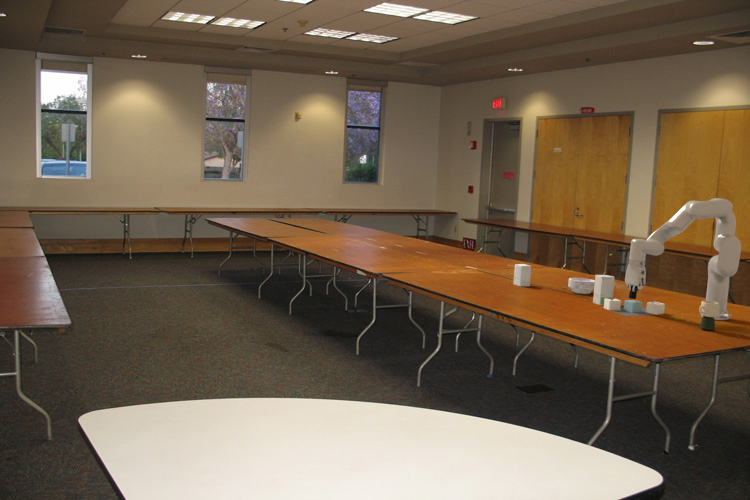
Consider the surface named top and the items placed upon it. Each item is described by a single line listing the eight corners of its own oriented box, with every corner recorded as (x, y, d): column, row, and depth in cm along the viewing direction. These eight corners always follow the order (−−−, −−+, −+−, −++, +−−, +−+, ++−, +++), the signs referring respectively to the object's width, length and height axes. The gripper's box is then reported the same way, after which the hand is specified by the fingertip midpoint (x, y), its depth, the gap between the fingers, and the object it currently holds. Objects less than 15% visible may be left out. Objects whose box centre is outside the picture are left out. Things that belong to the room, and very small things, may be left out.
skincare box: (599, 305, 349) (601, 276, 347) (592, 303, 355) (594, 274, 353) (612, 305, 351) (615, 276, 349) (605, 302, 357) (607, 274, 355)
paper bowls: (591, 291, 391) (592, 277, 390) (597, 296, 376) (598, 282, 375) (565, 289, 393) (566, 276, 392) (570, 294, 378) (571, 280, 377)
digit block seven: (620, 310, 337) (621, 300, 336) (609, 310, 336) (609, 300, 335) (614, 307, 343) (615, 298, 342) (603, 307, 342) (604, 297, 341)
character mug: (711, 327, 309) (713, 300, 307) (722, 331, 302) (725, 303, 300) (691, 328, 306) (694, 300, 304) (703, 332, 299) (706, 304, 297)
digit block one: (663, 313, 333) (664, 303, 333) (656, 314, 330) (657, 304, 330) (653, 311, 338) (654, 301, 338) (646, 312, 335) (647, 302, 335)
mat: (663, 314, 333) (664, 313, 333) (626, 316, 324) (626, 316, 324) (637, 307, 349) (638, 306, 349) (601, 308, 341) (601, 308, 341)
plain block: (641, 312, 335) (642, 302, 334) (632, 312, 333) (633, 302, 332) (632, 309, 340) (633, 300, 340) (623, 309, 338) (624, 300, 338)
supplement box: (530, 286, 399) (531, 265, 397) (519, 286, 396) (521, 265, 395) (523, 284, 406) (524, 263, 404) (512, 284, 403) (514, 264, 401)
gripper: (653, 265, 328) (649, 301, 330) (631, 260, 342) (627, 295, 344) (641, 265, 325) (637, 302, 328) (620, 260, 339) (616, 295, 341)
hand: (632, 298), depth 336 cm, fingers closed
